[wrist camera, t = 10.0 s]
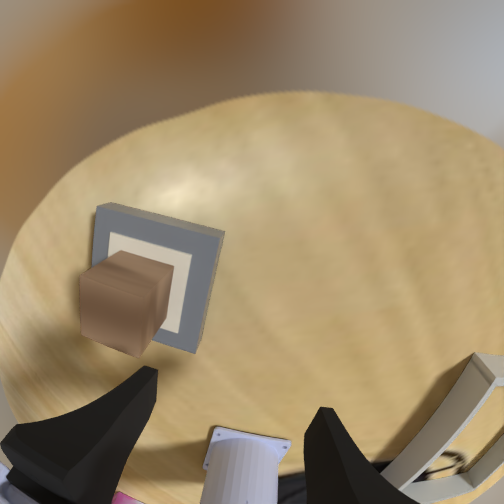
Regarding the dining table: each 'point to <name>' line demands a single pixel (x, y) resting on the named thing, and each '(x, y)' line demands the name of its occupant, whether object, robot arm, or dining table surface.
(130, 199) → the dining table surface
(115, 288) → the walnut block
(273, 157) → the dining table surface
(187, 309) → the plate
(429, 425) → the grey corral
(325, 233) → the dining table surface
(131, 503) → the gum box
